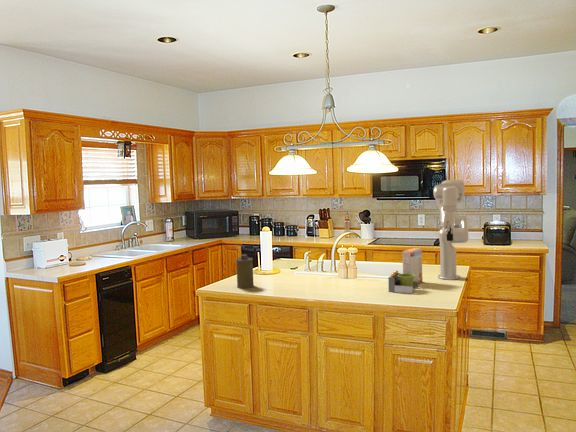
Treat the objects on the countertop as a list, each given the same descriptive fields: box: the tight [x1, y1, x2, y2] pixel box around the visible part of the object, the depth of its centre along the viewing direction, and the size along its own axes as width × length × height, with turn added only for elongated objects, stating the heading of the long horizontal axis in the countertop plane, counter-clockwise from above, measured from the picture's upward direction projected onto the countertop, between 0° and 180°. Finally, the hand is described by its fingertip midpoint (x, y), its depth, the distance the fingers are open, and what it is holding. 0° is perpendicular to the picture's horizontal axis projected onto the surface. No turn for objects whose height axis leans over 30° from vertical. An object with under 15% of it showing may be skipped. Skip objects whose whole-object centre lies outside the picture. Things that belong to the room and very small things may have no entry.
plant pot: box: [398, 273, 415, 286], centre depth 269 cm, size 9×9×9 cm
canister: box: [235, 254, 255, 289], centre depth 292 cm, size 11×10×20 cm
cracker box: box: [401, 247, 423, 284], centre depth 283 cm, size 14×6×21 cm, turn 137°
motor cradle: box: [387, 270, 419, 295], centre depth 269 cm, size 15×14×10 cm
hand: (449, 240), depth 270 cm, fingers closed
